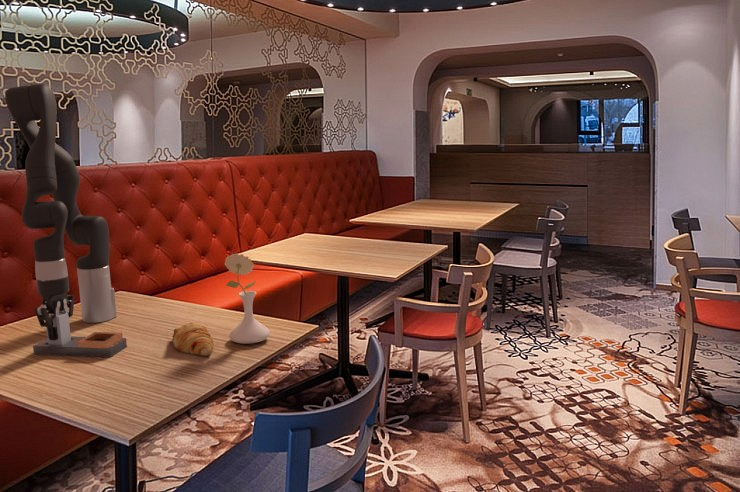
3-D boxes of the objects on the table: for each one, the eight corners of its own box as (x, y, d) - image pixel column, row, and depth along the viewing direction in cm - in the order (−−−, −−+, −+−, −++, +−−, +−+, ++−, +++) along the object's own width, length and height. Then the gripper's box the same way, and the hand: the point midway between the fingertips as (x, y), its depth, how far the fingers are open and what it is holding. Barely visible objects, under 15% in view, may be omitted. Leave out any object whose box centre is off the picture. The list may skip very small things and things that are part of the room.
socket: (126, 346, 163) (125, 332, 162) (110, 357, 155) (109, 342, 155) (53, 344, 166) (51, 330, 165) (33, 354, 158) (32, 340, 157)
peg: (71, 347, 163) (68, 312, 161) (62, 352, 159) (58, 317, 157) (58, 347, 164) (54, 312, 162) (49, 352, 160) (45, 316, 158)
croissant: (220, 367, 156) (232, 339, 158) (188, 359, 150) (200, 329, 151) (185, 346, 172) (196, 320, 173) (154, 337, 165) (166, 311, 166)
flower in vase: (278, 336, 170) (274, 251, 165) (254, 349, 159) (249, 259, 155) (241, 331, 175) (236, 248, 171) (216, 343, 165) (210, 255, 160)
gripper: (56, 269, 165) (62, 328, 168) (20, 282, 151) (28, 345, 154) (81, 270, 164) (87, 329, 167) (47, 282, 150) (55, 346, 153)
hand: (59, 336), depth 161 cm, fingers closed on peg, 4 cm apart
